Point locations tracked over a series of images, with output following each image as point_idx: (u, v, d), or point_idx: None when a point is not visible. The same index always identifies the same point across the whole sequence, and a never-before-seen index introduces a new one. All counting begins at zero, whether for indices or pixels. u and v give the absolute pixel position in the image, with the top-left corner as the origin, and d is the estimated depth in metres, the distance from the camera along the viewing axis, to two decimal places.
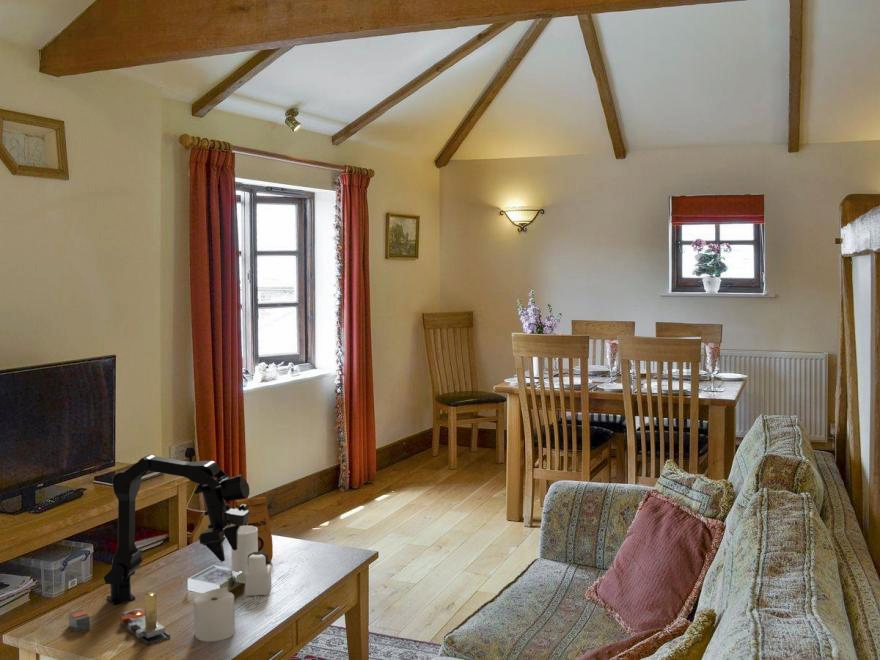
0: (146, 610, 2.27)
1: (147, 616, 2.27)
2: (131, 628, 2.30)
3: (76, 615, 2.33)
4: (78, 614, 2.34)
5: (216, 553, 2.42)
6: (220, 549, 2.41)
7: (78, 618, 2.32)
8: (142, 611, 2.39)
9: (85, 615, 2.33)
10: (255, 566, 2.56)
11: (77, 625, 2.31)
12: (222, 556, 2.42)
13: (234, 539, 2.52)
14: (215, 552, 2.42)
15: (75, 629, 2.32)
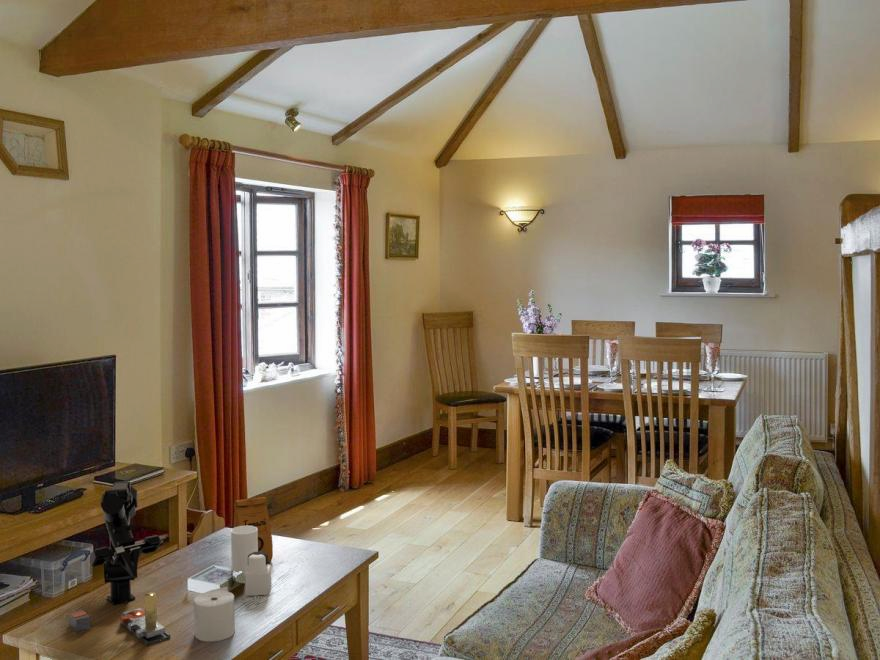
0: (146, 610, 2.27)
1: (147, 616, 2.27)
2: (131, 628, 2.30)
3: (76, 615, 2.33)
4: (78, 614, 2.34)
5: None
6: None
7: (78, 618, 2.32)
8: (142, 611, 2.39)
9: (85, 615, 2.33)
10: (255, 566, 2.56)
11: (76, 625, 2.31)
12: None
13: None
14: None
15: (75, 629, 2.32)
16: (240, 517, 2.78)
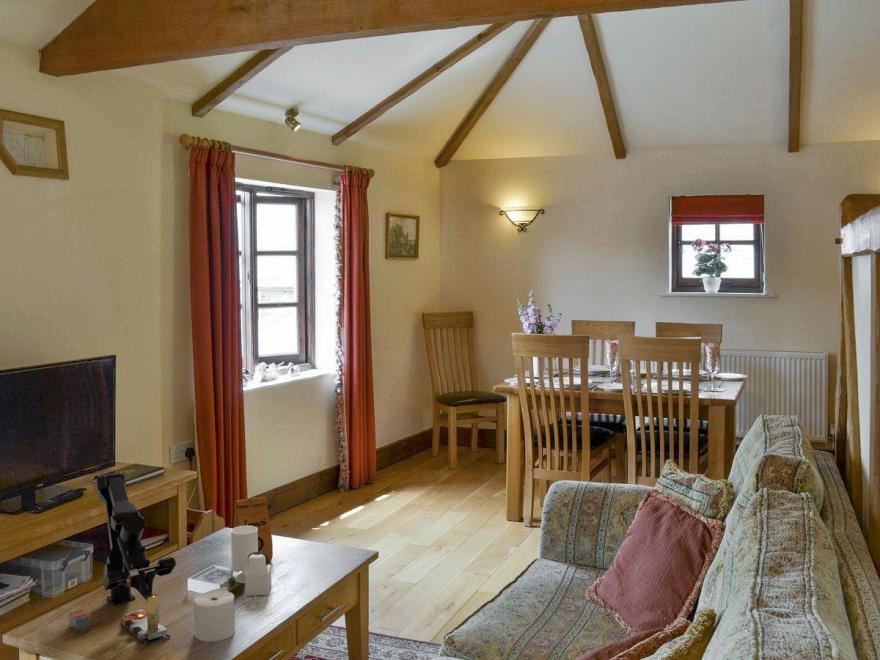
0: (148, 612, 2.26)
1: (149, 618, 2.26)
2: (133, 630, 2.29)
3: (76, 615, 2.33)
4: (78, 614, 2.34)
5: None
6: None
7: (78, 618, 2.32)
8: (144, 613, 2.38)
9: (85, 615, 2.33)
10: (255, 566, 2.56)
11: (76, 625, 2.31)
12: None
13: None
14: None
15: (75, 629, 2.32)
16: (240, 517, 2.78)
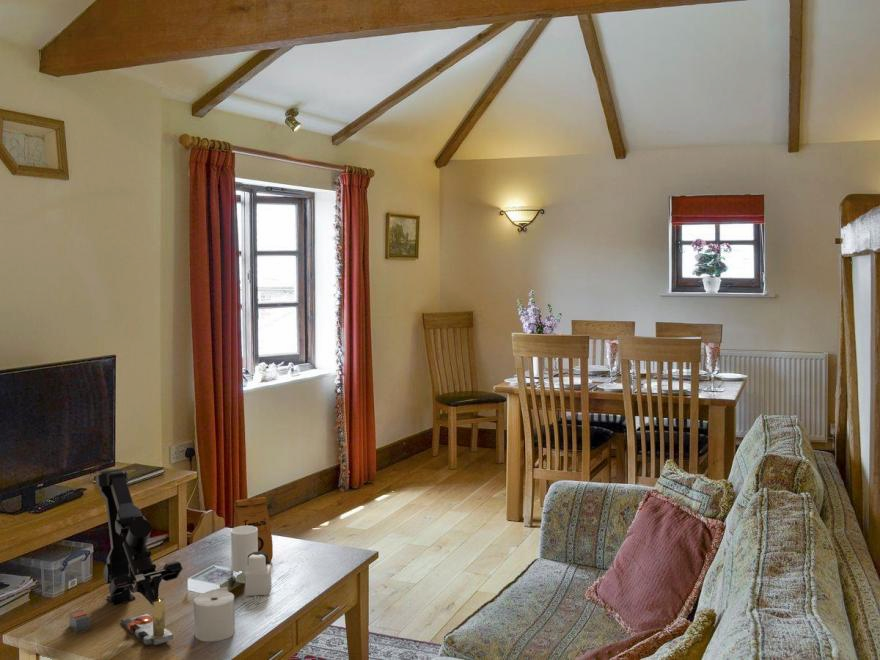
0: (154, 616, 2.24)
1: (155, 623, 2.24)
2: (139, 635, 2.26)
3: (76, 615, 2.33)
4: (78, 614, 2.34)
5: None
6: None
7: (78, 618, 2.32)
8: (149, 617, 2.35)
9: (85, 615, 2.33)
10: (255, 566, 2.56)
11: (76, 625, 2.31)
12: None
13: None
14: None
15: (75, 629, 2.32)
16: (240, 517, 2.78)
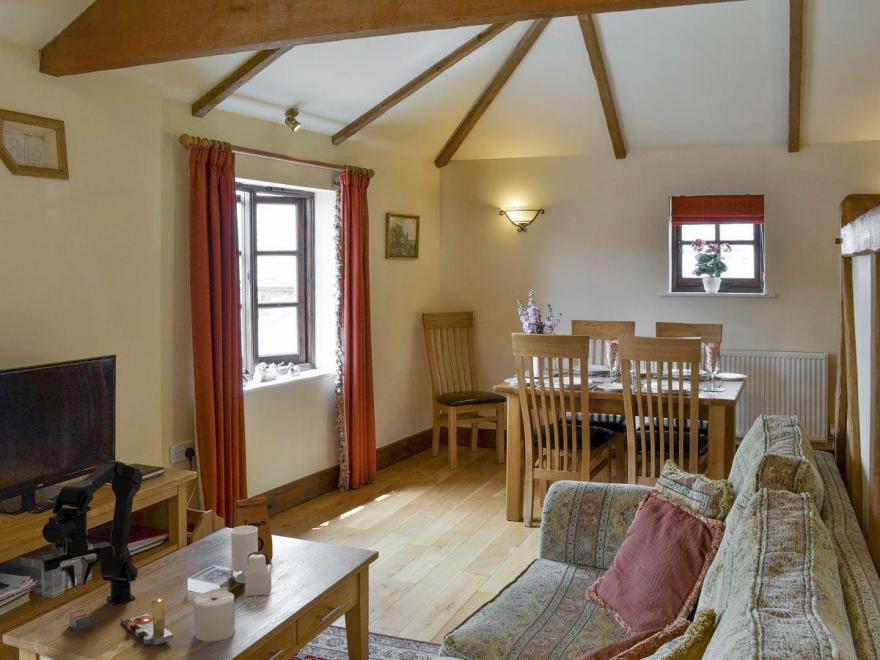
0: (154, 616, 2.24)
1: (155, 623, 2.24)
2: (139, 635, 2.26)
3: (76, 615, 2.33)
4: (78, 614, 2.34)
5: None
6: None
7: (78, 618, 2.32)
8: (149, 617, 2.35)
9: (85, 615, 2.33)
10: (255, 566, 2.56)
11: (76, 626, 2.31)
12: None
13: None
14: None
15: (75, 629, 2.32)
16: (240, 517, 2.78)
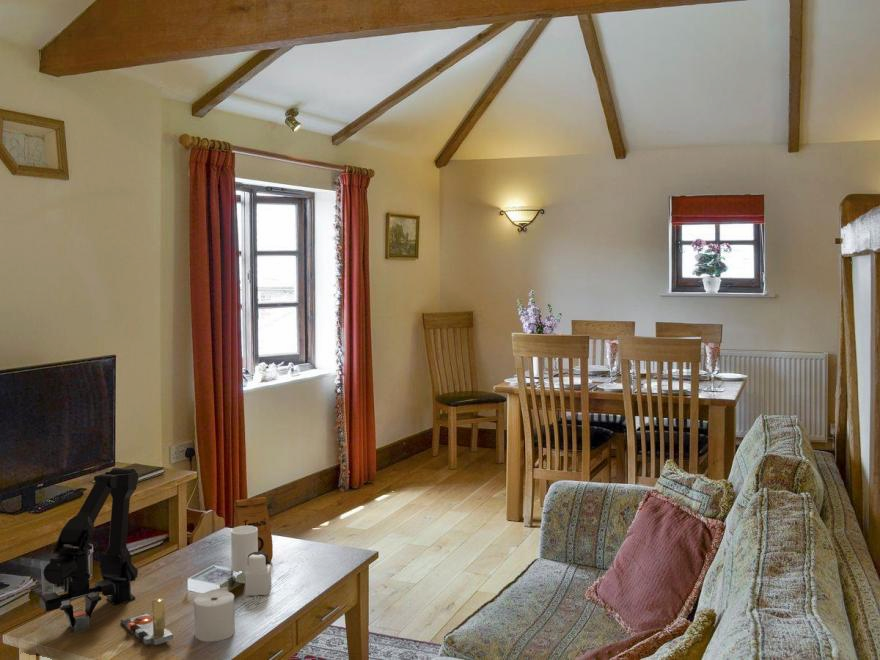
0: (154, 616, 2.24)
1: (155, 623, 2.24)
2: (139, 635, 2.26)
3: (76, 614, 2.33)
4: (78, 613, 2.34)
5: None
6: None
7: (78, 618, 2.32)
8: (149, 617, 2.35)
9: (85, 615, 2.33)
10: (255, 566, 2.56)
11: (76, 625, 2.31)
12: None
13: None
14: None
15: (75, 628, 2.32)
16: (240, 517, 2.78)
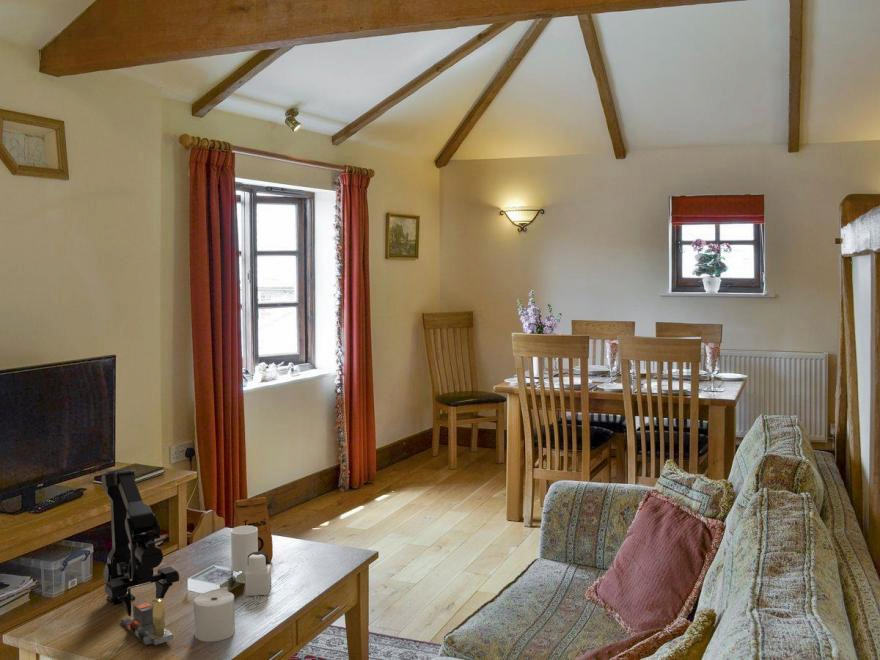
0: (154, 616, 2.24)
1: (155, 623, 2.24)
2: (139, 635, 2.26)
3: (141, 607, 2.32)
4: (142, 606, 2.32)
5: None
6: None
7: (143, 610, 2.30)
8: None
9: (150, 607, 2.32)
10: (255, 566, 2.56)
11: (142, 617, 2.29)
12: None
13: None
14: None
15: (140, 621, 2.30)
16: (240, 517, 2.78)
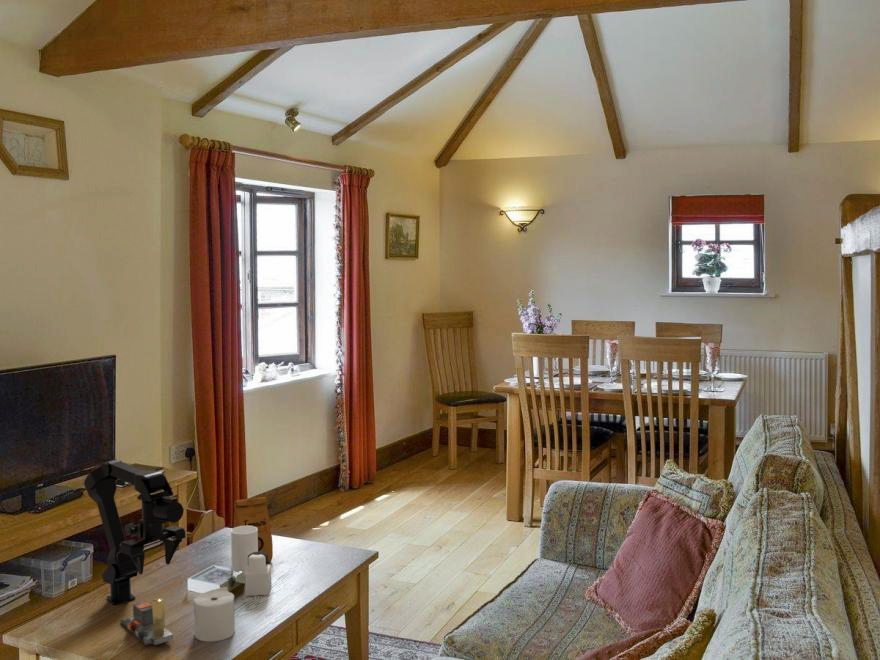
0: (154, 616, 2.24)
1: (155, 623, 2.24)
2: (138, 635, 2.26)
3: (141, 607, 2.32)
4: (142, 606, 2.32)
5: None
6: None
7: (143, 610, 2.30)
8: None
9: (150, 607, 2.32)
10: (255, 566, 2.56)
11: (142, 617, 2.29)
12: None
13: None
14: None
15: (140, 621, 2.30)
16: (240, 517, 2.78)
